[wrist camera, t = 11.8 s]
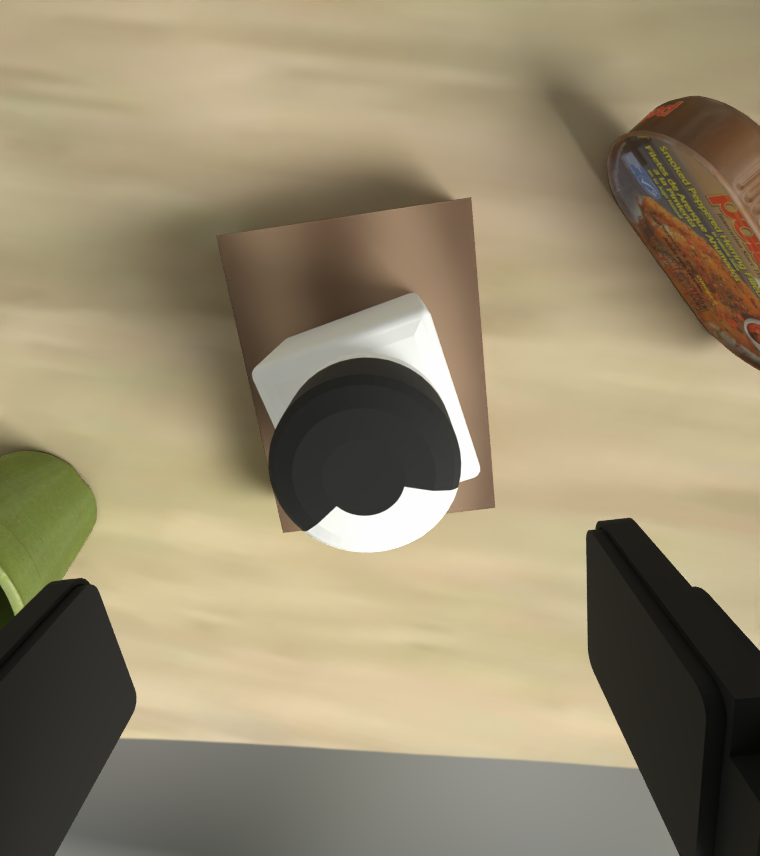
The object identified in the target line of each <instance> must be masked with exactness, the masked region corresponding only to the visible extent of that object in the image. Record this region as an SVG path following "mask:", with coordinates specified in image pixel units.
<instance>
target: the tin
mask: <svg viewBox="0 0 760 856" xmlns="http://www.w3.org/2000/svg"><path fill="white" fill-rule="evenodd" d="M607 172H608V179H609V184H610V187H611V190H612V192H613V195H614V197H615V199H616V201H617V203H618V205H619V207H620V209H621V210H622V212H623V214H624V215H625V217H626V218H627V220H628V221H629V223H630V224H631V225H632V227H633V228H634V230H635V231H636V232H637V234H638V235H639V237H640V238H641V239H642V241H643V242H644V243H645V245H646V246H647V248H648V249H649V250H650V252H651V253H652V255H653V256H654V257H655V259H656V260H657V261H658V263H659V264H660V266H661V267H662V268H663V270H664V271H665V272H666V274H667V275H668V277H669V278H670V279H671V281H672V282H673V284H674V285H675V287H676V288H677V290H678V291H679V292H680V294H681V295H682V296H683V298H684V299H685V301H686V302H687V303H688V305H689V306H690V307H691V309H692V310H693V312H694V313H695V314H696V316H697V317H698V319H699V320H700V321H701V322H702V324H703V325H704V326H705V327H706V328H707V330H708V331H709V332H710V333H711V334H712V335H713V336H714V337H715V338H716V339H717V340H718V341H719V342H721V343H722V344H723V345H724V346H725V347H726V348H727V349H728V350H730V351H731V352H732V353H734V354H735V355H736V356H737V357H739V358H740V359H742V360H743V361H745V362H746V363H748V364H750V365H751V366H753V367H754V368H756V369H758V370H760V126H759V125H758V124H757V123H756V122H754V121H753V120H752V119H750V118H749V117H748V116H747V115H745V114H743V113H742V112H740V111H738V110H737V109H735V108H733V107H731V106H729V105H728V104H725V103H723V102H720V101H717V100H714V99H710V98H706V97H701V96H688V97H684V98H679V99H675V100H671V101H668V102H666V103H664V104H662V105H660V106H658V107H657V108H655V109H654V110H653V111H652V112H651V113H649V114H648V115H647V116H646V117H645V118H644V119H643V120H642V121H641V122H640V123H639V124H637V125H636V126H635V127H634V128H633V129H632V130H631V131H630V132H629V133H627V134H625V135H623V136H621V137H620V138H618V139H617V140H616V141H615V142H614V144H613V145H612V147H611V149H610V151H609V154H608V160H607Z"/></svg>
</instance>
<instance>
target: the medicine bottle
mask: <svg viewBox="0 0 760 856" xmlns="http://www.w3.org/2000/svg"><path fill="white" fill-rule="evenodd" d="M252 377H253V381H254V383H255V385H256V387H257V390H258V392H259V394H260V396H261V398H262V401H263V403H264V405H265V407H266V410H267V412H268V414H269V416H270V419H271V421H272V423H273V425H274V428H275V431H274V434H273V437H272V440H271V443H270V449H269V458H268V468H269V475H270V481H271V484H272V488H273V491H274V493H275V496H276V498H277V500H278V502H279V504H280V505H281V507H282V509H283V510H284V512H285V513H286V514H287V516H288V517H289V518H290V519H291V520H292V521H293V522H294V523H295V524H296V525H297V526H298V527H299V528H300V529H301V530H302V531H304V532H305V533H307V534H308V535H310V536H311V537H313V538H314V539H316V540H318V541H320V542H322V543H324V544H326V545H329V546H332V547H335V548H338V549H342V550H346V551H353V552H379V551H386V550H390V549H394V548H398V547H401V546H403V545H406V544H408V543H410V542H412V541H414V540H416V539H418V538H419V537H421V536H423V535H424V534H425V533H427V532H428V531H429V530H430V529H432V528H433V527H434V526H435V525H436V524H437V523H438V522H439V521H440V520H441V518H442V517H443V516H444V514H445V513H446V512H447V511H448V509H449V507H450V505H451V503H452V502H453V500H454V497H455V495H456V492H457V489H458V486H459V482H462V481H465V480H468V479H471V478H474V477H476V476H478V474H479V472H480V465H479V462H478V459H477V455H476V452H475V449H474V446H473V443H472V440H471V437H470V434H469V431H468V428H467V425H466V422H465V419H464V415H463V412H462V409H461V406H460V403H459V400H458V397H457V394H456V391H455V388H454V385H453V382H452V379H451V375H450V372H449V369H448V366H447V363H446V360H445V357H444V354H443V351H442V348H441V345H440V342H439V338H438V335H437V332H436V329H435V326H434V323H433V320H432V317H431V314H430V312H429V311H428V309H427V308H426V306H425V305H424V303H423V301H422V300H421V298H420V297H419V295H418V294H416V293H409V294H406V295H403V296H401V297H398V298H395V299H392V300H390V301H387V302H384V303H381V304H379V305H376V306H373V307H371V308H368V309H365V310H362V311H360V312H357V313H354V314H351V315H349V316H346V317H343V318H341V319H338V320H335V321H332V322H330V323H327V324H324V325H322V326H319V327H316V328H313V329H311V330H308V331H305V332H302V333H300V334H297V335H294V336H292V337H289V338H287V339H285V340H284V341H283V342H282V343H281V344H280V345H279V346H278V347H277V348H275V349H274V350H273V351H272V352H271V353H270V354H269V355H268V356H267V357H266V358H265V359H264V360H263V361H261V362H260V363H259V364H258V365H257V366H256V367H255V368H254V369H253V372H252Z"/></svg>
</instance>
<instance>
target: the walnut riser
mask: <svg viewBox="0 0 760 856" xmlns="http://www.w3.org/2000/svg"><path fill="white" fill-rule="evenodd" d="M216 237H217V241H218V245H219V250H220V254H221V259H222V263H223V268H224V272H225V277H226V281H227V285H228V290H229V294H230V299H231V303H232V308H233V312H234V317H235V321H236V325H237V330H238V334H239V339H240V343H241V348H242V352H243V357H244V361H245V366H246V370H247V374H248V379H249V383H250V388H251V392H252V397H253V401H254V406H255V410H256V414H257V419H258V423H259V428H260V432H261V437H262V441H263V446H264V450H265V454H266V459H267V463H268V458H269V449H270V443H271V440H272V437H273V434H274V431H275V428H274V425H273V423H272V421H271V419H270V416H269V414H268V412H267V410H266V407H265V405H264V403H263V401H262V398H261V396H260V394H259V392H258V390H257V387H256V385H255V383H254V381H253V377H252V372H253V369H254V368H255V367H256V366H257V365H258V364H259V363H260V362H261V361H263V360H264V359H265V358H266V357H267V356H268V355H269V354H270V353H271V352H272V351H273V350H274V349H275V348H277V347H278V346H279V345H280V344H281V343H282V342H283V341H284V340H285V339H287V338H289V337H292V336H294V335H297V334H300V333H302V332H305V331H308V330H311V329H313V328H316V327H319V326H322V325H324V324H327V323H330V322H332V321H335V320H338V319H341V318H343V317H346V316H349V315H351V314H354V313H357V312H360V311H362V310H365V309H368V308H371V307H373V306H376V305H379V304H381V303H384V302H387V301H390V300H392V299H395V298H398V297H401V296H403V295H406V294H409V293H416V294H418V295H419V297H420V298H421V300H422V301H423V303H424V305H425V306H426V308H427V309H428V311H429V312H430V314H431V317H432V320H433V323H434V326H435V329H436V332H437V335H438V338H439V342H440V345H441V348H442V351H443V354H444V357H445V360H446V363H447V366H448V369H449V372H450V375H451V379H452V382H453V385H454V388H455V391H456V394H457V397H458V400H459V403H460V406H461V409H462V412H463V415H464V419H465V422H466V425H467V428H468V431H469V434H470V437H471V440H472V443H473V446H474V449H475V452H476V455H477V459H478V462H479V465H480V472H479V474H478V476H476V477H474V478H471V479H468V480H465V481H462V482H459V486H458V489H457V492H456V495H455V497H454V500H453V502H452V503H451V505H450V507H449V509H448V511H447V512H446V513H454V512H463V511H471V510H480V509H488V508H495V500H494V487H493V474H492V461H491V448H490V435H489V422H488V409H487V396H486V384H485V371H484V358H483V345H482V332H481V319H480V306H479V293H478V280H477V267H476V254H475V241H474V228H473V215H472V202H471V197H470V198H464V199H457V200H450V201H444V202H437V203H431V204H424V205H417V206H411V207H404V208H397V209H391V210H384V211H378V212H371V213H364V214H358V215H351V216H344V217H338V218H331V219H325V220H318V221H311V222H305V223H298V224H291V225H285V226H278V227H272V228H265V229H258V230H252V231H245V232H239V233H232V234H225V235H219V236H216ZM274 494H275V493H274ZM275 499H276V503H277V508H278V512H279V517H280V521H281V526H282V530H283V533H285V532H294V531H302V530H301V529H300V528H299V527H298V526H297V525H296V524H295V523H294V522H293V521H292V520H291V519H290V518H289V517H288V516H287V514H286V513H285V512H284V510H283V509H282V507H281V505H280V504H279V502H278V500H277V498H276V496H275ZM446 513H445V514H446Z"/></svg>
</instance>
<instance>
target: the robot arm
mask: <svg viewBox="0 0 760 856" xmlns="http://www.w3.org/2000/svg"><path fill="white" fill-rule="evenodd" d="M586 556H587V622H588V654H589V659H590V663H591V666H592V669H593V672H594V674H595V676H596V678H597V680H598V682H599V684H600V687H601V689H602V691H603V693H604V695H605V697H606V699H607V701H608V704H609V706H610V708H611V710H612V712H613V714H614V716H615V719H616V721H617V723H618V725H619V727H620V729H621V731H622V733H623V736H624V738H625V740H626V742H627V744H628V746H629V748H630V751H631V753H632V755H633V757H634V759H635V761H636V763H637V765H638V768H639V770H640V772H641V774H642V776H643V778H644V780H645V782H646V785H647V787H648V789H649V791H650V793H651V795H652V797H653V799H654V802H655V804H656V806H657V808H658V810H659V812H660V814H661V816H662V819H663V821H664V823H665V825H666V827H667V829H668V832H669V834H670V836H671V838H672V840H673V842H674V844H675V846H676V849H677V851H678V853H679V855H680V856H760V651H759V650H758V648H757V647H756V646H755V645H754V644H753V643H752V642H751V641H750V640H749V638H748V637H747V636H746V635H745V634H744V633H743V632H742V631H741V630H740V628H739V627H738V626H737V625H736V624H735V623H734V622H733V621H732V620H731V618H730V617H729V616H728V615H727V614H726V613H725V612H724V611H723V610H722V608H721V607H720V606H719V605H718V604H717V603H716V602H715V601H714V600H713V598H712V597H711V596H710V595H709V594H708V593H707V592H706V591H704V590H703V589H702V588H699V587H692V586H691V585H690V584H689V583H688V582H687V581H686V579H685V578H684V577H683V576H682V575H681V574H680V573H679V571H678V570H677V569H676V568H675V567H674V566H673V564H672V563H671V562H670V561H669V560H668V559H667V558H666V556H665V555H664V554H663V553H662V552H661V551H660V550H659V548H658V547H657V546H656V545H655V544H654V543H653V542H652V540H651V539H650V538H649V537H648V536H647V535H646V533H645V532H644V531H643V530H642V529H641V528H640V527H639V525H638V524H637V523H636V522H635V521H634V520H633V519H632V518H624V519H615V520H605V521H598V522H597V524H596V530H588V532H587V535H586ZM135 706H136V692H135V688H134V686H133V683H132V680H131V677H130V675H129V672H128V669H127V667H126V664H125V661H124V658H123V656H122V653H121V650H120V648H119V645H118V642H117V639H116V637H115V634H114V631H113V629H112V626H111V623H110V620H109V618H108V615H107V612H106V610H105V607H104V604H103V601H102V599H101V596H100V593H99V591H98V589H97V587H95V586H94V585H90V583H89V582H88V581H87V580H86V579H83V578H77V579H68V580H59V581H52V582H50V583H48V584H47V585H46V586H45V587H44V588H43V589H42V590H41V591H40V592H39V593H38V594H37V595H36V596H35V597H34V598H33V599H32V600H30V601H29V602H28V603H27V604H26V605H25V606H24V607H23V608H22V609H21V610H20V611H19V612H18V613H17V614H16V615H15V616H14V617H13V618H12V619H11V620H10V621H9V622H8V623H7V624H6V625H5V626H4V627H3V628H2V629H1V630H0V856H55V854H56V852H57V850H58V848H59V846H60V845H61V843H62V841H63V839H64V837H65V835H66V834H67V832H68V830H69V828H70V827H71V825H72V823H73V821H74V819H75V817H76V815H77V814H78V812H79V810H80V808H81V807H82V805H83V803H84V801H85V799H86V798H87V796H88V794H89V792H90V790H91V788H92V787H93V785H94V783H95V781H96V779H97V778H98V776H99V774H100V772H101V770H102V769H103V767H104V765H105V763H106V761H107V759H108V758H109V756H110V754H111V752H112V750H113V749H114V747H115V745H116V743H117V741H118V740H119V738H120V736H121V734H122V732H123V731H124V729H125V727H126V725H127V723H128V721H129V720H130V718H131V716H132V714H133V712H134V710H135Z"/></svg>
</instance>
